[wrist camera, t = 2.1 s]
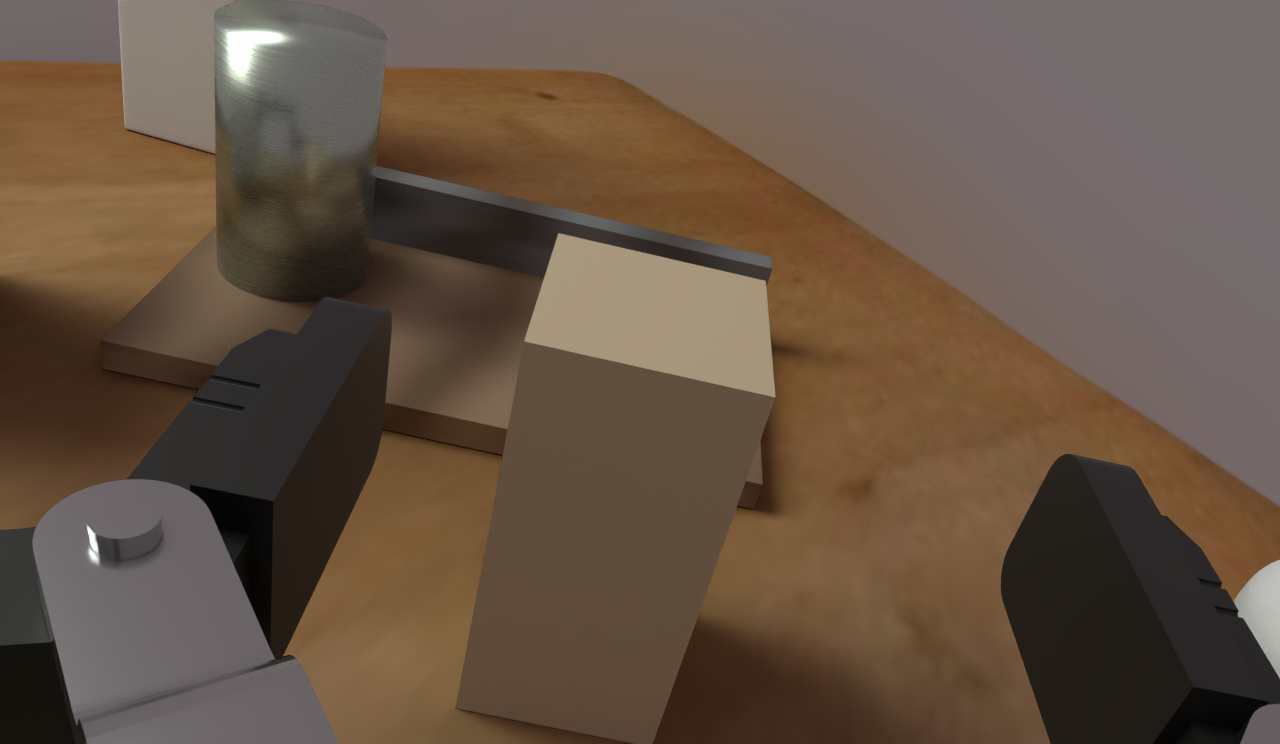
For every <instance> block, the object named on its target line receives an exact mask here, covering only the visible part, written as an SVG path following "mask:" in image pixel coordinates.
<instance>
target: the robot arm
mask: <svg viewBox="0 0 1280 744" xmlns="http://www.w3.org/2000/svg"><path fill="white" fill-rule="evenodd" d="M391 333H392V315H391V312H390V310H387V309H382V308H378V307H373V306H368V305H363V304H359V303H354V302H349V301H344V300H339V299H335V298H330V297H325V298H323V299H322V300H321V301H320V303H319V304H318V305H317V307H316V308H315V310H314V311H313V312H312V314H311V315H310V317H309V318H308V319H307V321H306V322H305V324H304V325H303V326H302V328H301V329H300V331H299V332H298V333H297V334H292V333H288V332H283V331H278V330H273V329H268V330H266V331H264V332H262V333H260V334H258V335H257V336H255V337H253V338H251V339H249V340H247V341H245V342H243V343H241V344H239V345H237V346H235V347H233V348H232V349H231V351H230V352H229V353H228V354H227V356H226V357H225V358H224V359H223V360H222V362H221V363H220V364H219V365H218V367H217V368H216V369H215V370H214V372H213V373H212V374H211V379H210V380H206V382H205V383H204V384H203V385H202V387H201V388H200V389H199V390H198V392H197V393H196V394H195V395H194V397H193V401H192V403H190V402H189V403H188V404H187V405H186V406H185V408H184V409H183V410H182V411H181V413H180V414H179V415H178V416H177V418H176V419H175V420H174V421H173V423H172V424H171V425H170V426H169V428H168V429H167V430H166V431H165V433H164V434H163V435H162V436H161V438H160V439H159V440H158V441H157V442H156V444H155V445H154V446H153V447H152V449H151V450H150V451H149V452H148V454H147V455H146V456H145V457H144V459H143V460H142V461H141V462H140V464H139V465H138V466H137V467H136V469H135V470H134V471H133V472H132V474H131V475H130V476H129V477H128V479H127V480H119V481H112V482H106V483H102V484H98V485H94V486H91V487H89V488H86V489H83V490H80V491H78V492H76V493H74V494H72V495H70V496H68V497H66V498H65V499H63V500H62V501H60V502H59V503H57V504H56V505H55V506H53V507H52V508H51V509H50V510H49V511H48V512H47V513H46V514H45V515H44V516H43V518H42V519H41V520H40V521H39V523H38V525H37V527H31V528H24V529H11V530H0V744H338V742H337V740H336V737H335V735H334V733H333V731H332V729H331V726H330V724H329V722H328V720H327V718H326V716H325V713H324V711H323V709H322V707H321V705H320V702H319V700H318V698H317V696H316V694H315V691H314V689H313V687H312V685H311V683H310V680H309V678H308V676H307V674H306V672H305V670H304V669H303V667H302V666H301V664H300V663H299V661H298V660H297V659H296V658H295V657H294V656H292V655H287V656H284V657H283V655H284V653H285V650H286V648H287V646H288V644H289V642H290V640H291V638H292V636H293V634H294V632H295V630H296V627H297V625H298V623H299V621H300V619H301V617H302V615H303V613H304V611H305V609H306V606H307V604H308V602H309V600H310V598H311V596H312V594H313V592H314V590H315V588H316V585H317V583H318V581H319V579H320V577H321V575H322V573H323V571H324V569H325V567H326V564H327V562H328V560H329V558H330V556H331V554H332V552H333V550H334V548H335V546H336V543H337V541H338V539H339V537H340V535H341V533H342V531H343V529H344V527H345V525H346V522H347V520H348V518H349V516H350V514H351V512H352V510H353V508H354V506H355V504H356V502H357V499H358V497H359V495H360V493H361V491H362V489H363V487H364V485H365V483H366V481H367V478H368V476H369V474H370V472H371V470H372V467H373V464H374V461H375V458H376V455H377V452H378V448H379V444H380V439H381V434H382V429H383V422H384V412H385V401H386V390H387V378H388V367H389V356H390V345H391ZM1221 584H1222V582H1221V581H1220V579H1219V577H1218V576H1217V574H1216V572H1215V571H1214V569H1213V567H1212V566H1211V564H1210V562H1209V561H1208V559H1207V557H1206V556H1205V554H1204V552H1203V551H1202V549H1201V548H1200V547H1199V546H1198V545H1197V544H1195V543H1194V542H1193V541H1192V540H1191V539H1190V538H1189V537H1188V536H1187V535H1186V534H1185V533H1184V532H1183V531H1182V530H1181V529H1180V528H1179V527H1178V526H1177V525H1175V524H1174V523H1173V522H1172V521H1171V520H1170V519H1169V518H1168V517H1167V516H1163V515H1161V514H1160V512H1159V510H1158V509H1157V507H1156V505H1155V504H1154V502H1153V500H1152V498H1151V497H1150V495H1149V493H1148V492H1147V490H1146V488H1145V486H1144V485H1143V483H1142V481H1141V479H1140V478H1139V476H1138V474H1137V473H1136V472H1135V470H1133V469H1132V468H1131V467H1128V466H1125V465H1120V464H1115V463H1110V462H1105V461H1101V460H1096V459H1091V458H1086V457H1082V456H1077V455H1072V454H1065V455H1062V456H1061V457H1059V458H1058V459H1057V460H1056V461H1055V462H1054V464H1053V465H1052V466H1051V468H1050V470H1049V471H1048V473H1047V475H1046V477H1045V479H1044V481H1043V483H1042V485H1041V487H1040V489H1039V491H1038V493H1037V494H1036V496H1035V498H1034V500H1033V502H1032V504H1031V506H1030V508H1029V510H1028V512H1027V514H1026V515H1025V517H1024V519H1023V521H1022V523H1021V525H1020V527H1019V529H1018V531H1017V533H1016V535H1015V537H1014V538H1013V540H1012V542H1011V544H1010V546H1009V548H1008V550H1007V553H1006V556H1005V559H1004V563H1003V567H1002V574H1001V594H1002V599H1003V603H1004V606H1005V609H1006V612H1007V615H1008V618H1009V621H1010V624H1011V627H1012V630H1013V633H1014V636H1015V639H1016V642H1017V645H1018V648H1019V651H1020V654H1021V657H1022V660H1023V663H1024V666H1025V669H1026V672H1027V675H1028V677H1029V680H1030V683H1031V686H1032V689H1033V692H1034V695H1035V698H1036V701H1037V704H1038V707H1039V710H1040V713H1041V716H1042V719H1043V722H1044V725H1045V728H1046V731H1047V734H1048V737H1049V740H1050V743H1051V744H1280V678H1279V676H1278V675H1277V673H1276V671H1275V670H1274V668H1273V666H1272V665H1271V663H1270V661H1269V660H1268V658H1267V656H1266V655H1265V653H1264V652H1263V650H1262V648H1261V647H1260V645H1259V643H1258V642H1257V640H1256V638H1255V637H1254V635H1253V633H1252V632H1251V630H1250V628H1249V627H1248V625H1247V623H1246V622H1245V620H1244V619H1243V618H1241V617H1238V612H1239V610H1238V609H1237V607H1236V605H1235V604H1234V602H1233V600H1232V599H1231V597H1230V595H1229V594H1228V592H1227V590H1225V589H1221Z"/></svg>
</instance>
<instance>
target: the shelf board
mask: <svg viewBox="0 0 1280 744" xmlns="http://www.w3.org/2000/svg"><path fill="white" fill-rule="evenodd" d="M558 233H560V234H564V235H568V236H573V237H577V238H582V239H586V240H590V241H595V242H599V243H603V244H608V245H612V246H616V247H621V248H625V249H629V250H634V251H638V252H642V253H647V254H651V255H655V256H660V257H664V258H668V259H673V260H677V261H681V262H686V263H690V264H694V265H699V266H703V267H708V268H712V269H716V270H721V271H725V272H729V273H734V274H738V275H742V276H747V277H751V278H755V279H760V280H764V281H766V286H767V283H768V280H769V277H770V274H771V271H772V262H771V257H768V256H764V255H760V254H755V253H751V252H747V251H743V250H738V249H734V248H730V247H725V246H721V245H717V244H712V243H708V242H704V241H699V240H695V239H691V238H686V237H682V236H678V235H673V234H669V233H665V232H661V231H656V230H652V229H648V228H643V227H639V226H635V225H630V224H626V223H622V222H617V221H613V220H609V219H604V218H600V217H596V216H592V215H587V214H583V213H579V212H574V211H570V210H566V209H561V208H557V207H553V206H548V205H544V204H540V203H535V202H531V201H527V200H522V199H518V198H514V197H510V196H505V195H501V194H497V193H492V192H488V191H484V190H479V189H475V188H471V187H466V186H462V185H458V184H453V183H449V182H445V181H441V180H436V179H432V178H428V177H423V176H419V175H415V174H410V173H406V172H402V171H397V170H393V169H389V168H384V167H380V166H377V167H376V179H375V192H374V204H373V217H372V229H371V242H370V254H369V267H368V275H367V278H366V280H365V281H364V282H363V284H362V285H361V286H360V287H358V288H357V289H356V290H354V291H352V292H350V293H348V294H346V295H344V296H341V297H338V298H335V299H339V300H344V301H349V302H354V303H359V304H363V305H368V306H373V307H378V308H382V309H387V310H390V312H391V315H392V333H391V345H390V356H389V367H388V378H387V390H386V401H385V412H384V422H383V429H384V430H389V431H394V432H398V433H403V434H408V435H412V436H417V437H421V438H426V439H431V440H435V441H440V442H445V443H449V444H454V445H459V446H463V447H468V448H472V449H477V450H482V451H486V452H491V453H496V454H500V455H503V451H504V446H505V441H506V435H507V430H508V425H509V419H510V414H511V408H512V403H513V398H514V392H515V387H516V382H517V376H518V371H519V366H520V360H521V355H522V350H523V344H524V340H525V337H526V334H527V330H528V327H529V324H530V321H531V318H532V315H533V312H534V308H535V305H536V302H537V299H538V296H539V293H540V290H541V286H542V283H543V280H544V277H545V274H546V271H547V268H548V264H549V261H550V258H551V255H552V252H553V249H554V246H555V242H556V239H557V236H558ZM319 303H320V301H317V302H285V301H277V300H271V299H266V298H263V297H259V296H256V295H253V294H250V293H247V292H245V291H243V290H241V289H239V288H237V287H235V286H233V285H232V284H231V283H229V282H228V281H227V280H226V279H225V278H224V277H223V276H222V275H221V273H220V272H219V270H218V268H217V248H216V227H215V228H214V229H213V230H212V231H211V232H210V233H209V234H208V235H207V236H206V237H205V238H204V239H203V240H202V241H201V242H200V243H199V244H198V245H197V246H196V247H195V248H194V249H193V250H192V251H191V252H190V253H189V254H188V255H187V256H186V257H185V258H184V259H183V260H182V261H181V262H180V263H179V264H178V265H177V266H175V267H174V268H173V269H172V270H171V271H170V272H169V273H168V274H167V275H166V276H165V277H164V278H163V279H162V280H161V281H160V282H159V283H158V284H157V285H156V286H155V287H154V288H153V289H152V290H151V291H150V292H149V293H148V294H147V295H146V296H145V297H144V298H143V299H142V300H141V301H140V302H139V303H138V304H137V305H136V306H135V307H134V308H133V309H132V310H131V311H130V312H129V313H128V314H127V315H126V316H125V317H124V318H123V319H122V320H121V321H120V322H119V323H118V324H117V325H116V326H115V327H114V328H113V329H112V330H111V331H110V332H109V333H108V334H107V335H106V336H105V337H104V338H103V339H102V340H101V350H102V364H103V369H107V370H111V371H116V372H121V373H125V374H130V375H134V376H139V377H144V378H148V379H153V380H158V381H162V382H167V383H172V384H176V385H181V386H185V387H190V388H195V389H200V388H201V387H202V385H203V384H204V383H205V382H206V380H210V379H211V374H212V373H213V372H214V370H215V369H216V368H217V367H218V365H219V364H220V363H221V362H222V360H223V359H224V358H225V357H226V356H227V354H228V353H229V352H230V351H231V349H232V348H233V347H235V346H237V345H239V344H241V343H243V342H245V341H247V340H249V339H251V338H253V337H255V336H257V335H258V334H260V333H262V332H264V331H266V330H268V329H273V330H278V331H283V332H288V333H292V334H297V333H298V332H299V331H300V329H301V328H302V326H303V325H304V324H305V322H306V321H307V319H308V318H309V317H310V315H311V314H312V312H313V311H314V310H315V308H316V307H317V305H318V304H319ZM762 486H763V478H762V460H761V443H760V442H759V445H758V448H757V451H756V454H755V456H754V459H753V462H752V465H751V468H750V471H749V473H748V476H747V479H746V482H745V485H744V488H743V490H742V493H741V496H740V499H739V502H738V504H737V506H741V507H746V508H750V509H754V508H755V505H756V502H757V499H758V497H759V494H760V491H761V489H762Z"/></svg>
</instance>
